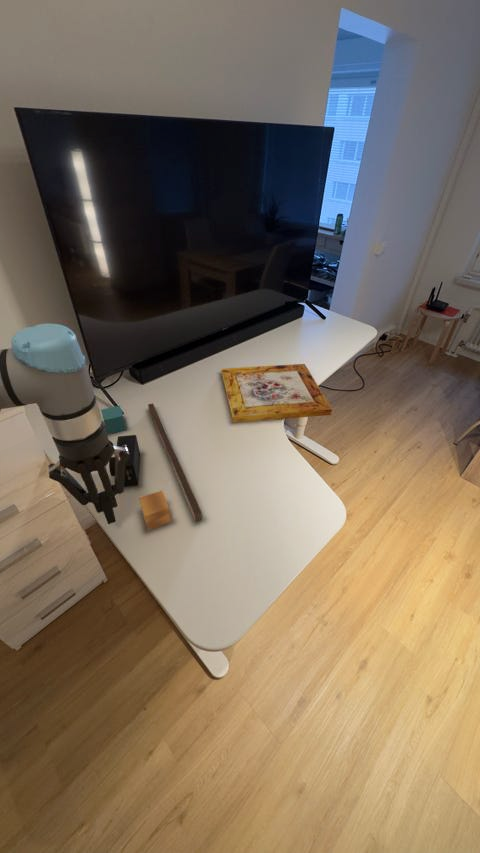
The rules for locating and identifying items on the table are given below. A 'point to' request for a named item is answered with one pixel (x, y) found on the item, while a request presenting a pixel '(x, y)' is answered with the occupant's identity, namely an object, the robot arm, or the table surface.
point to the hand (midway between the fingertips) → (111, 517)
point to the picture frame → (272, 393)
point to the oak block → (155, 510)
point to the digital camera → (132, 462)
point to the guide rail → (176, 465)
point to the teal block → (113, 419)
